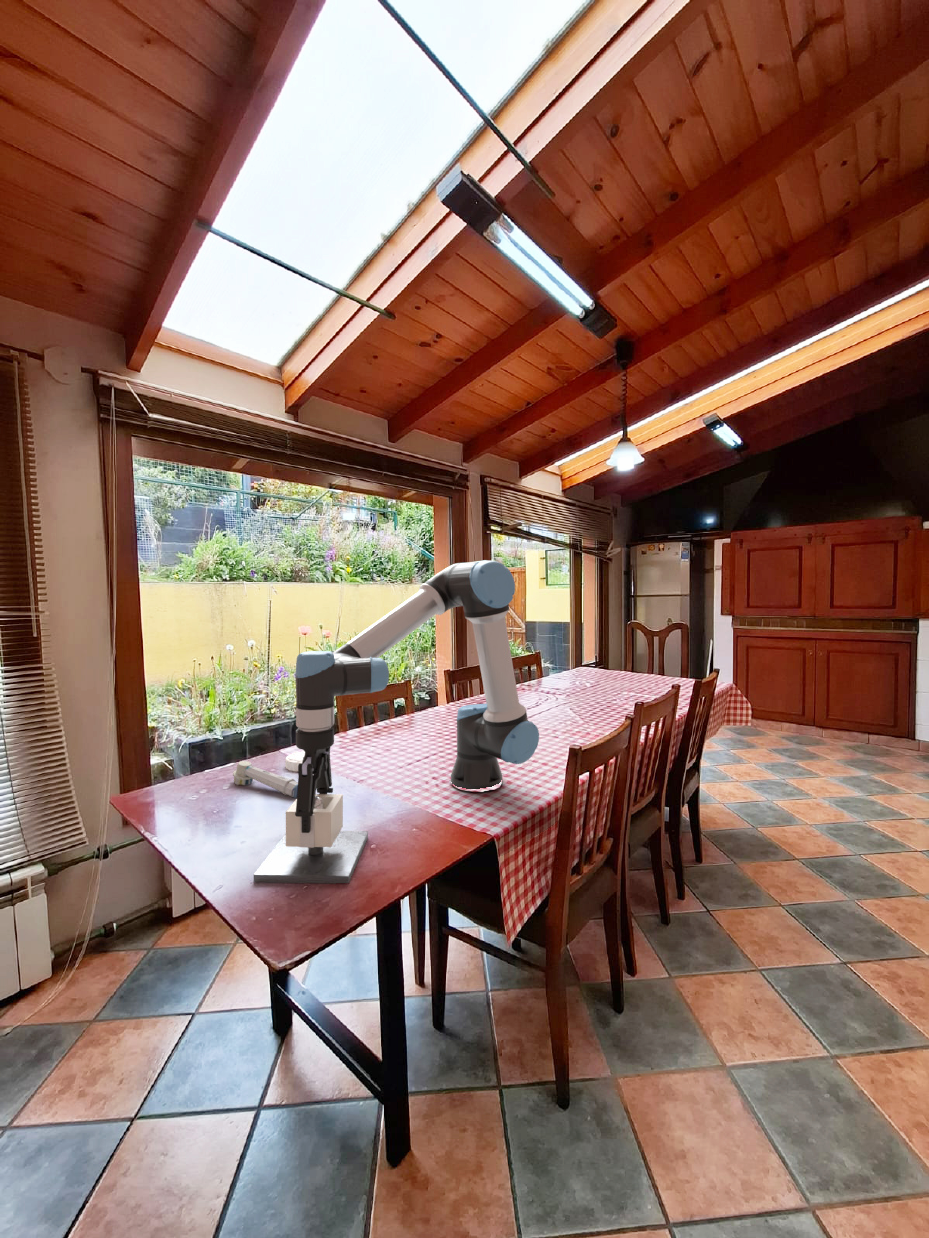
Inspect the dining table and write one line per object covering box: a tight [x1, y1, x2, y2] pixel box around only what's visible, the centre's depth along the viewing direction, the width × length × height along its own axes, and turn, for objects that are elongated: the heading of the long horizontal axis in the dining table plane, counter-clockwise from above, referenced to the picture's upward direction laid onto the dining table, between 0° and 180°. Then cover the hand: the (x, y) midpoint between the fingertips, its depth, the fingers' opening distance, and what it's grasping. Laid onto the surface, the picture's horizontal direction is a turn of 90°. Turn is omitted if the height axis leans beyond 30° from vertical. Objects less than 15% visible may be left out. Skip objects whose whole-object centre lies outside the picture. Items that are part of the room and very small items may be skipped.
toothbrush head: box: [232, 760, 298, 799], centre depth 141 cm, size 5×7×25 cm
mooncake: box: [284, 750, 305, 772], centre depth 160 cm, size 12×12×4 cm
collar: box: [285, 793, 344, 847], centre depth 103 cm, size 9×9×7 cm
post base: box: [253, 796, 369, 884], centre depth 103 cm, size 18×18×13 cm
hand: (315, 834), depth 103 cm, fingers closed on collar, 9 cm apart
